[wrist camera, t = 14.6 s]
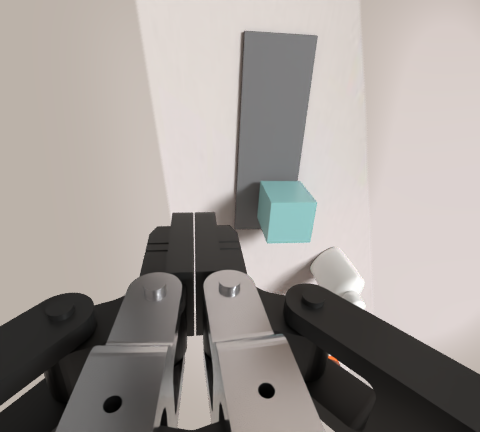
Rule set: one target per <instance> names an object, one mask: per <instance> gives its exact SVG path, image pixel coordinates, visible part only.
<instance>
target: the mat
mask: <svg viewBox="0 0 480 432" xmlns="http://www.w3.org/2000/svg"><path fill="white" fill-rule="evenodd" d="M317 37H318V36H316V35H301V34H286V33H271V32H255V31H244V50H243V70H242V90H241V111H240V131H239V151H238V171H237V191H236V212H235V229H261V226H260V223H259V221H258V218H257V214H258V203H259V191H260V181H297V180H298V173H299V166H300V159H301V152H302V144H303V137H304V130H305V123H306V116H307V109H308V101H309V94H310V87H311V80H312V73H313V65H314V58H315V51H316V44H317Z"/></svg>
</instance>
